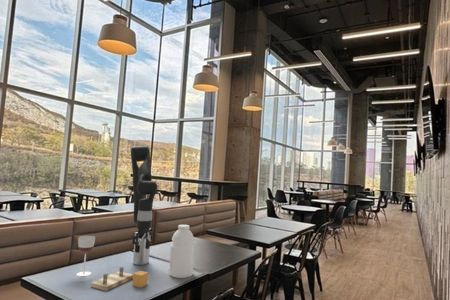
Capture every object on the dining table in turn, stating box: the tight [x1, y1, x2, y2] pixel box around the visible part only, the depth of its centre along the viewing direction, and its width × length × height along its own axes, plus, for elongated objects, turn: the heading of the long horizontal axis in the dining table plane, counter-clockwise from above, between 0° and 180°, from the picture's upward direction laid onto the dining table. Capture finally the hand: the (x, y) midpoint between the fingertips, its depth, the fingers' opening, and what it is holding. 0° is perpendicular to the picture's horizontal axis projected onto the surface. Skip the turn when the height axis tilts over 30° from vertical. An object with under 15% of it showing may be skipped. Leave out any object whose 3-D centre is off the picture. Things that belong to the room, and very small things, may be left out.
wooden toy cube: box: [132, 270, 149, 288], centre depth 159 cm, size 5×5×6 cm
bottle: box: [168, 224, 196, 279], centre depth 179 cm, size 14×14×28 cm
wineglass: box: [76, 235, 96, 277], centre depth 171 cm, size 8×9×20 cm
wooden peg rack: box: [90, 266, 134, 292], centre depth 160 cm, size 20×10×6 cm, turn 159°
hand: (142, 250), depth 160 cm, fingers open, 8 cm apart
